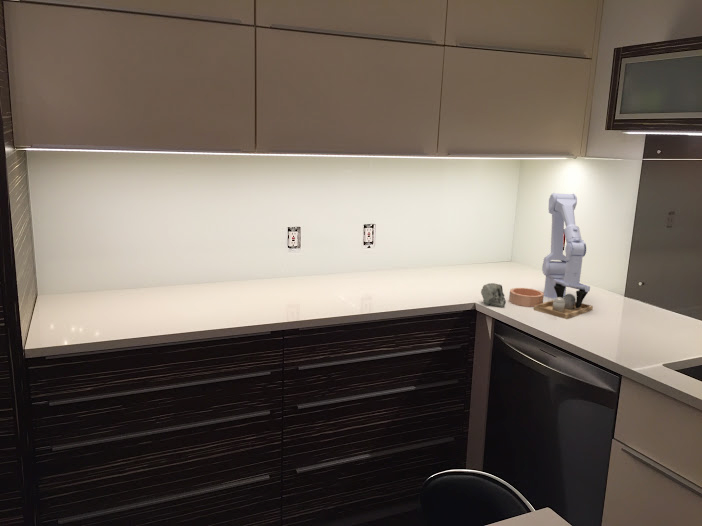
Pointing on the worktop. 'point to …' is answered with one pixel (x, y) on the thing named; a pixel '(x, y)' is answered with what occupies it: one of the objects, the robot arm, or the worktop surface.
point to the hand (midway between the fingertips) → (568, 305)
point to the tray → (567, 313)
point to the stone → (493, 294)
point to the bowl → (526, 297)
